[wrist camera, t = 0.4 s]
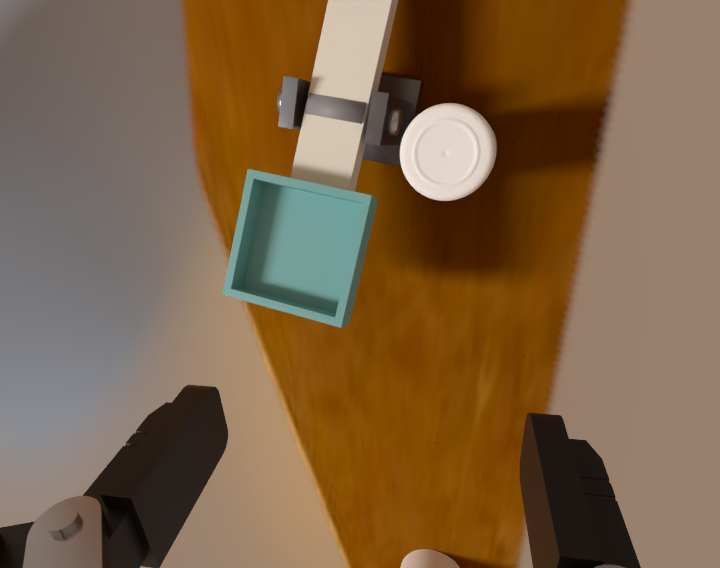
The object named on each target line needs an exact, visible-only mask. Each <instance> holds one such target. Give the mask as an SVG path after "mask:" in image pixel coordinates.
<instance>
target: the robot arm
mask: <svg viewBox="0 0 720 568" xmlns="http://www.w3.org/2000/svg"><path fill="white" fill-rule="evenodd" d="M227 440H228V429H227V424H226V420H225V416H224V412H223V407H222V403H221V399H220V395H219V391H218V389H217V388H216V387H209V386H196V385H187V386H185V387H184V388H183V389H182V391H181V392H180V393H179V394H178V396H177V397H176V398H175V400H174V401H173V402H172V403H165V404H164V405H162V406H161V407H159V408H158V409H157V410H155V411H154V412H153V413H151V414H150V415H148V417H147V418H146V419H145V420H144V421H143V423H142V424H141V425H140V426H139V428H138V429H137V430H136V433H135V434H133V435H132V436H131V437H130V438H129V440H128V441H127V442H126V446H123V447H122V448H121V449H120V451H119V452H118V453H117V455H116V456H115V457H114V458H113V459H112V461H111V462H110V463H109V464H108V465H107V467H106V468H105V469H104V470H103V471H102V473H101V474H100V475H99V476H98V478H97V479H96V480H95V481H94V482H93V484H92V485H91V486H90V487H89V489H88V490H87V491H86V492H85V493H84V495H83V496H76V497H72V498H69V499H66V500H63V501H61V502H59V503H57V504H56V505H54V506H52V507H51V508H49V509H48V510H47V511H45V512H44V513H43V514H42V515H41V516H40V517H39V518H38V519H37V520H36V521H35V522H30V523H25V524H19V525H14V526H8V527H2V528H0V568H140V566H145V567H152V568H159V567H160V566H161V564H162V562H163V560H164V558H165V557H166V555H167V553H168V551H169V549H170V548H171V546H172V544H173V542H174V540H175V539H176V537H177V535H178V534H179V531H180V530H181V528H182V526H183V525H184V523H185V521H186V519H187V517H188V516H189V514H190V512H191V510H192V509H193V507H194V505H195V503H196V501H197V500H198V498H199V496H200V494H201V492H202V491H203V489H204V487H205V485H206V484H207V482H208V480H209V478H210V476H211V475H212V473H213V471H214V469H215V467H216V466H217V464H218V462H219V460H220V459H221V457H222V455H223V453H224V451H225V448H226V445H227ZM520 482H521V490H522V497H523V503H524V510H525V517H526V523H527V530H528V536H529V543H530V549H531V556H532V562H533V568H641V567H640V564H639V562H638V559H637V556H636V553H635V550H634V548H633V545H632V542H631V539H630V536H629V533H628V531H627V528H626V525H625V522H624V520H623V517H622V514H621V511H620V508H619V506H618V503H617V501H616V500H615V494H614V491H613V489H612V486H611V484H610V483H609V477H608V475H607V472H606V469H605V466H604V464H603V461H602V458H601V457H600V456H599V455H598V454H597V453H596V451H595V450H594V449H593V448H592V447H591V446H590V445H589V443H588V442H587V441H586V440H576V439H569V438H568V435H567V432H566V428H565V424H564V421H563V418H562V417H561V416H560V415H549V414H537V413H528V414H527V417H526V423H525V430H524V437H523V444H522V451H521V458H520Z"/></svg>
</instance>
